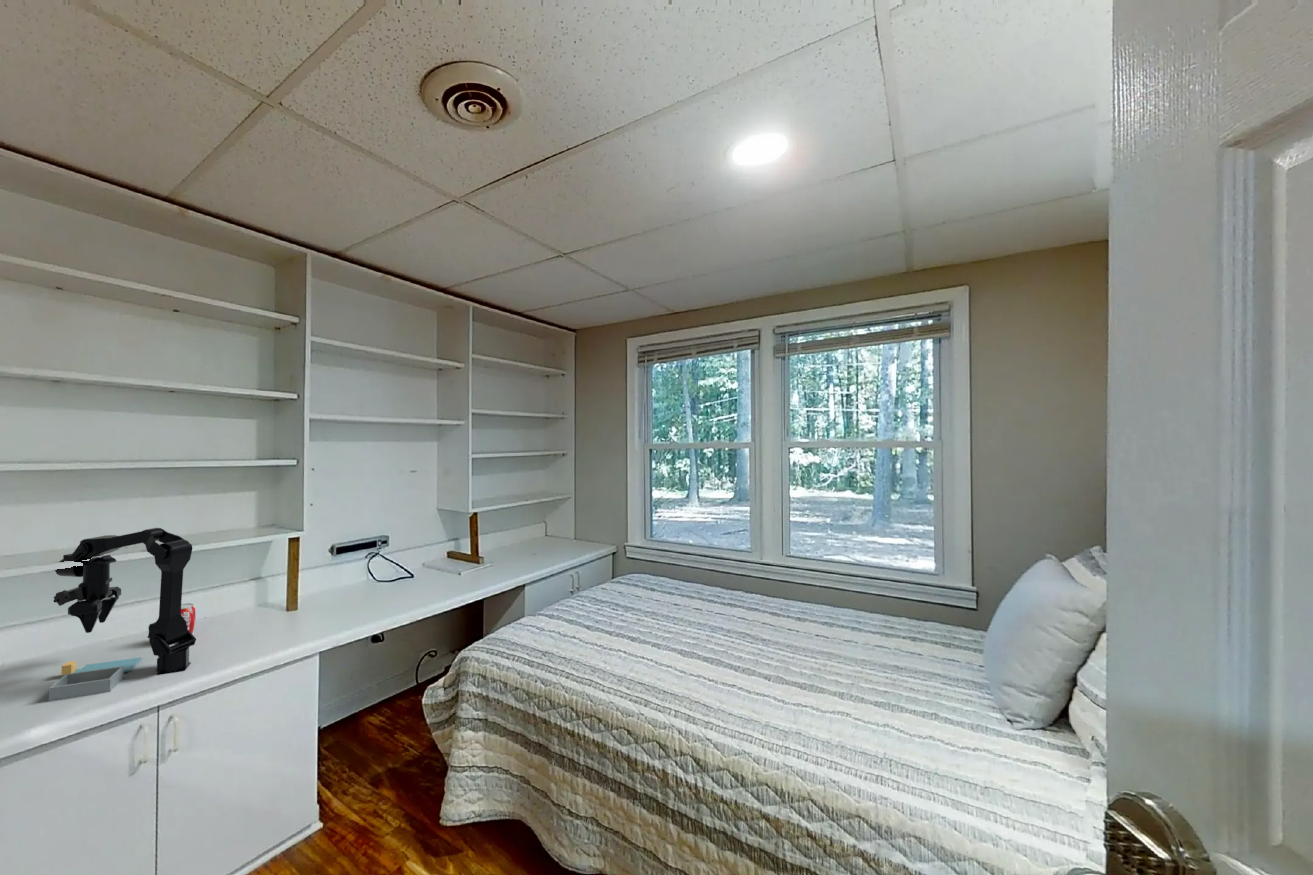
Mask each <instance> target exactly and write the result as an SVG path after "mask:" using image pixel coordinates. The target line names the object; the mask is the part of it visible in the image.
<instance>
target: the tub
mask: <svg viewBox="0 0 1313 875" xmlns="http://www.w3.org/2000/svg"><path fill="white" fill-rule="evenodd" d="M124 673H125V672H124V666H121V667H114V668H107V669H100V670H92V671H85V672H78V673H71V674H66V675H65V676H63V677H62V676H61V678H60V679H58V680H57V681H56V682H55V683H53V684H52V685H51V686H50V687H48V702H54V701H60V700H66V699H72V698H79V697H85V696H91V695H98V694H104V693H105V694H106V693H109V692H110V693H111V692H112V691H113V690H114V689H115V688H116V687H117V686H118V684H119V683H120V682H121V681H122V680H123V679H124V678H125V677H124ZM104 678H109V679H104ZM99 679H103V680H99ZM96 680H97V681H96ZM77 682H83V683H77ZM73 683H76V684H73ZM69 684H70V685H69Z"/></svg>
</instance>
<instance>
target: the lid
mask: <svg viewBox="0 0 1313 875" xmlns="http://www.w3.org/2000/svg"><path fill="white" fill-rule="evenodd" d="M142 657H143V656H141V657H140V656H139V657H133V658H128V659H120V660H119V659H118V660H111V661H103V662H96V663H90V664H88V663H87V664H85V665H84V666H82V667H81V668H80V669H77V660H73V661H66V662H65V663H64V664H62V665H61V678H62V677H63V676H65V675H66V674H71V673H78V672H85V671H92V670H100V669H107V668H114V667H121V666H124V673H129V672H131V670H133V668H134V667H136V666H137V664H139V662H141V661H142Z"/></svg>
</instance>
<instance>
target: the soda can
mask: <svg viewBox="0 0 1313 875" xmlns="http://www.w3.org/2000/svg"><path fill="white" fill-rule="evenodd" d="M181 616H182V617H183V618H184V619H185V621H186V622H187V629H188V630H189V631H190V633H191V634H192V635H193V636H194V637H195V635H196V607H194V604H193V603H189V602H187V603H181ZM175 644H178V642H176V643H175Z"/></svg>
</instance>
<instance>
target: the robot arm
mask: <svg viewBox="0 0 1313 875" xmlns="http://www.w3.org/2000/svg"><path fill="white" fill-rule="evenodd" d="M157 541H158V542H159V543H161V544H159V543H158V542H157ZM139 544H144V545H145V549H146V551H147V553H148V554H150V555H152V557H154V563H155V565H156V566H157V568H158V569H159V571H161V572H160V573H161V574H160V577H161V578H160V591H159V592H160V593H159V607H158V608H159V610H158V618H157V619H156V621H155V622H152V623H149V625H148V628H147V629H148V635H147V639H148V641H149V645H150V648H151V650H152V653H153V656H157V659H156V672H157V673H156V675H157V676H162V675H167V674H175V673H181V672H182V673H183V672H186V670H187V669H188V668H189V667H190V665H191V662H190V647H191V646H194V645H195V644H196V641H197V638H196V637H195V636H193V635H192V634H191V633H190V631H189V630H188V629H187V622H186V621H185V619H184V618H183V617H182V616H181V604H182V598H183V596H182V595H183V584H184V583H183V582H184V581H183V579H184V570H185V568H186V566H187V564H188V563H189V562H190V561H191V557H192V553H193V545H192V543H190V541H188V540H186V539H185V538H183V537H181V536H180V535H177V534H173V533H171V532H168V531H167V530H165V529H163V528H161V527H153V528H148V529H143V530H142V531H137V532H132V533H127V534H122V535H115V534H113V535H111V534H110V535H108V534H107V535H106V534H105V535H101V536H95V537H91V538H89V537H88V538H85V539H82V540H80V541H79V544H78V545H77V547H76V548H75V549H74V551H73V552H72V553H69V554H63V556H62V559H61V560H59V562H64V561H74V562H81V563H83V566H77V567H76V566H73V567H71V568H65V569H57V570H55V569H54V571H55V573H56V575H57V576H59V577H71V578H72V577H73V578H75V577H76V578H82V582H80V583H79V584H77V585H78V586H77V587H74V588H71V589H68V590H66V589H65V590H61V591H58V592H56V593H55V596H53V600H52V601H53V603H56V604H57V605H58V606H59V607H61V606H64V605H65V604H68V603H71V602H73V601H75V600H77V601H76V602H74V603H72V604H71V605H70V606H68V607H67V615H69V616H72V617H76V618H78V619H79V620H80V622H81V625H82V627H83V630H84V631H85V634H88V633H89V634H90V633H92V632H93V630H94V627H95V625H96V623H97V621H99V623H100V624H102V623H105V622H106V620H107V619H108V617H109V615H110V614H111V611H113V609H114V607H115V605H116V603H117V601H118V600H119V598H120V596H122V588H120V587H119V586H110V583H111V582H113V577H111V575H110V572H111V571H110V570H111V566H110V565H111V564H112V563H116V562H117V559H116V558H115V557H113V556H111V553H114V552H115V551H119V549H121V548H125V547H129V546H134V545H139ZM106 554H107V555H106ZM91 558H92V559H91ZM87 559H90V560H89V561H82V560H87ZM176 642H178V643H176Z"/></svg>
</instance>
